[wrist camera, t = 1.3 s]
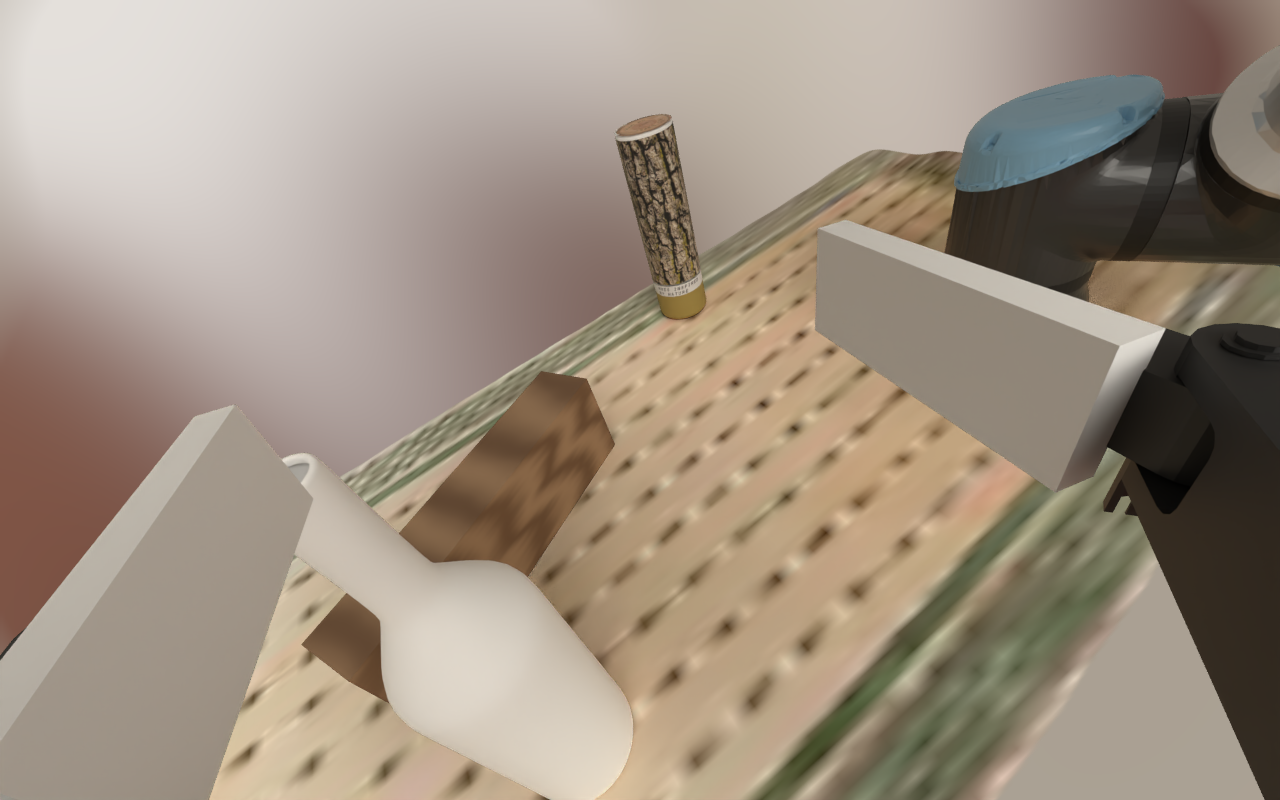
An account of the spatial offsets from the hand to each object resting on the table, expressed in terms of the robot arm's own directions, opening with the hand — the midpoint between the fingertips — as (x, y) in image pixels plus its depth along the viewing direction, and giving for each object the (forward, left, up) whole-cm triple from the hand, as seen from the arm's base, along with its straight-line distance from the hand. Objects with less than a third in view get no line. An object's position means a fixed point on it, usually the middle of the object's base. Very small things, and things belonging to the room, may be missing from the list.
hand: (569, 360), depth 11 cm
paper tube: (-24, -48, -33) cm, 63 cm away
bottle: (+10, -6, -33) cm, 35 cm away
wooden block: (+10, -24, -33) cm, 42 cm away
